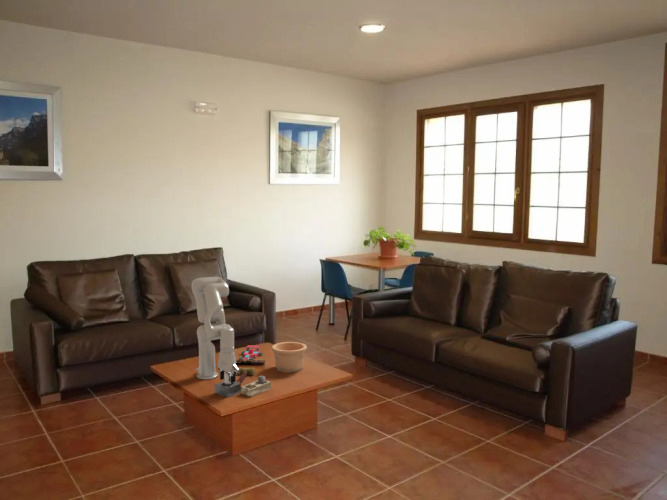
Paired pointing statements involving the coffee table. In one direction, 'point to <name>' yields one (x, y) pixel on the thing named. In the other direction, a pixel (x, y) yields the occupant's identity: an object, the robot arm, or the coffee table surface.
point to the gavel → (245, 373)
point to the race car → (251, 353)
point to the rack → (256, 387)
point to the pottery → (289, 356)
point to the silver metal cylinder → (227, 378)
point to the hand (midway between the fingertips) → (227, 380)
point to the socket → (227, 389)
